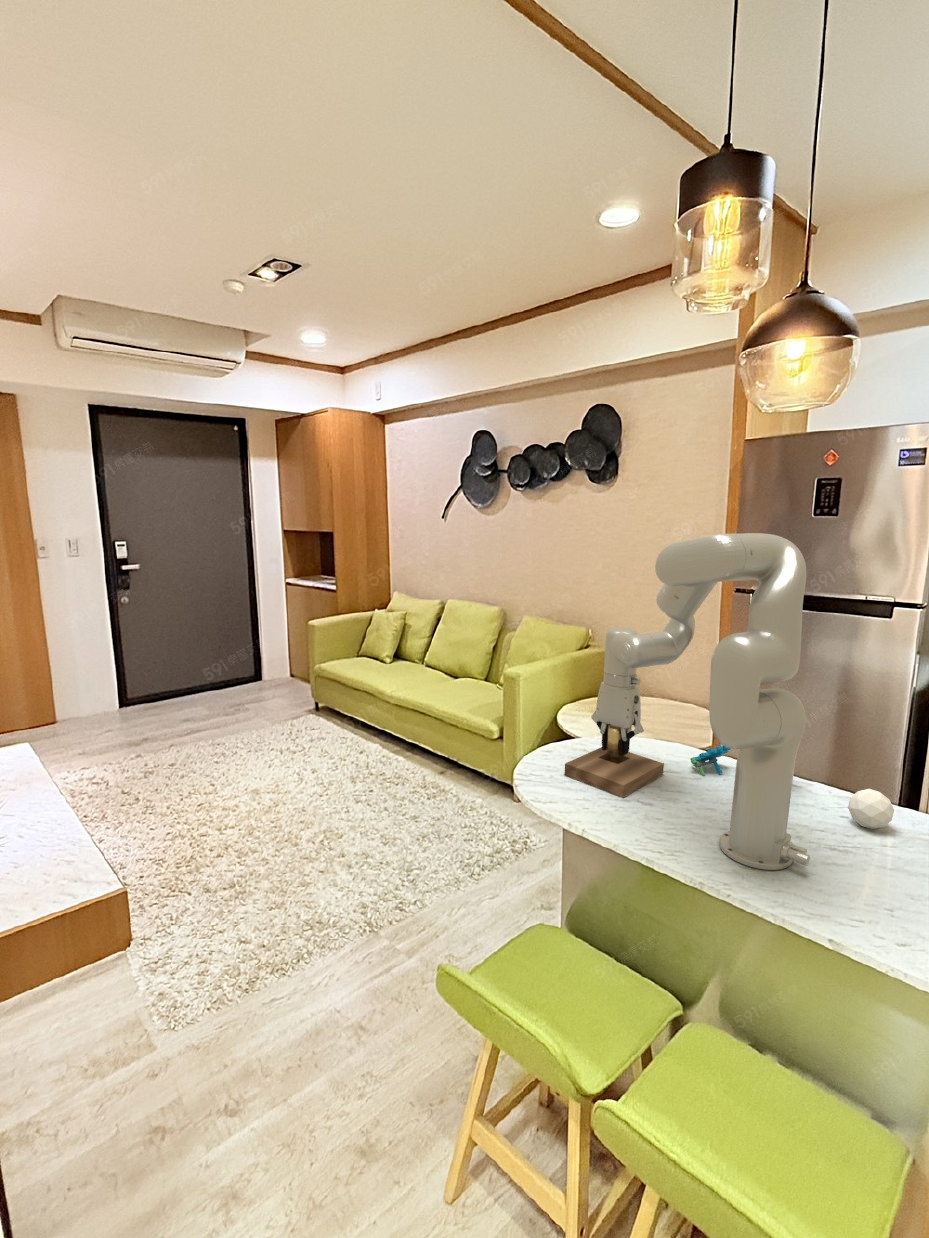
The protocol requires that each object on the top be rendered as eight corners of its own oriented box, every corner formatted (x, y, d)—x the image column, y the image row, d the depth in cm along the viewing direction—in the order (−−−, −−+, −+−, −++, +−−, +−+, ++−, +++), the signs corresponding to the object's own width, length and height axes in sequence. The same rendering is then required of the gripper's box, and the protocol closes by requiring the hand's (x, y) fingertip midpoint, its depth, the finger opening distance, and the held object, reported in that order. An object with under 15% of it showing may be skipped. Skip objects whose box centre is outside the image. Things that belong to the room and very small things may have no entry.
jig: (663, 775, 151) (663, 763, 151) (622, 797, 139) (623, 785, 138) (606, 755, 162) (606, 744, 162) (564, 775, 150) (564, 763, 149)
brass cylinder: (626, 754, 153) (628, 727, 152) (617, 758, 150) (619, 731, 149) (612, 749, 156) (613, 723, 155) (603, 754, 153) (604, 726, 152)
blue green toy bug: (715, 754, 160) (735, 738, 152) (727, 775, 158) (748, 761, 149) (679, 764, 157) (697, 749, 149) (690, 786, 154) (709, 772, 146)
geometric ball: (877, 842, 127) (896, 825, 121) (836, 819, 131) (853, 802, 125) (886, 814, 131) (906, 797, 125) (847, 793, 135) (864, 775, 129)
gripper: (659, 684, 147) (653, 757, 150) (598, 670, 158) (594, 738, 162) (642, 690, 141) (637, 766, 145) (581, 675, 153) (577, 745, 156)
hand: (614, 750), depth 153 cm, fingers closed on brass cylinder, 4 cm apart
